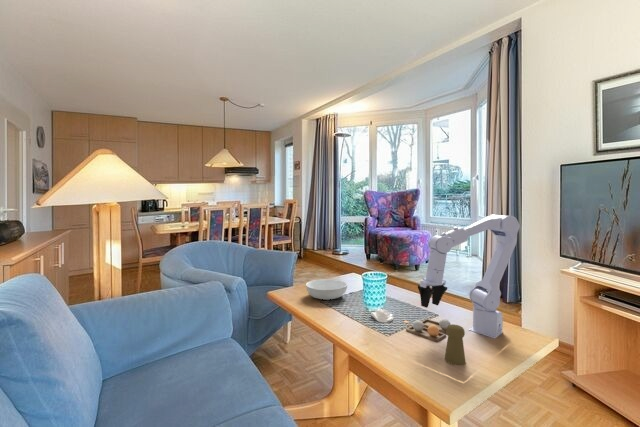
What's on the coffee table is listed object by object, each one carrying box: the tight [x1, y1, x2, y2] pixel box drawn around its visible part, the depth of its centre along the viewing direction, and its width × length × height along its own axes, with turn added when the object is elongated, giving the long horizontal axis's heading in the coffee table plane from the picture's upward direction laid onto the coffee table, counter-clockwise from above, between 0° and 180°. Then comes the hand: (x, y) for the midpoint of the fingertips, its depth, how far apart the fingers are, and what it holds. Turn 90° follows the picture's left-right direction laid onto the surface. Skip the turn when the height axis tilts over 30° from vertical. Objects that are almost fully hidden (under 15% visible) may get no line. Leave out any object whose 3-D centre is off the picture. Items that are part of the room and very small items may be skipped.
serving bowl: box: [305, 278, 348, 301], centre depth 162 cm, size 21×21×7 cm
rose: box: [370, 308, 394, 323], centre depth 133 cm, size 10×4×10 cm
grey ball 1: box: [412, 319, 424, 332], centre depth 120 cm, size 4×4×4 cm
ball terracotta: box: [427, 325, 439, 337], centre depth 115 cm, size 4×4×4 cm
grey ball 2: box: [438, 318, 452, 330], centre depth 121 cm, size 4×4×4 cm
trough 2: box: [420, 318, 447, 335], centre depth 123 cm, size 12×6×1 cm, turn 42°
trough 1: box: [405, 325, 447, 343], centre depth 117 cm, size 12×6×1 cm, turn 42°
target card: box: [402, 320, 413, 326], centre depth 127 cm, size 8×5×1 cm, turn 42°
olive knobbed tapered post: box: [444, 324, 466, 366], centre depth 98 cm, size 6×6×11 cm
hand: (429, 305), depth 117 cm, fingers open, 7 cm apart
